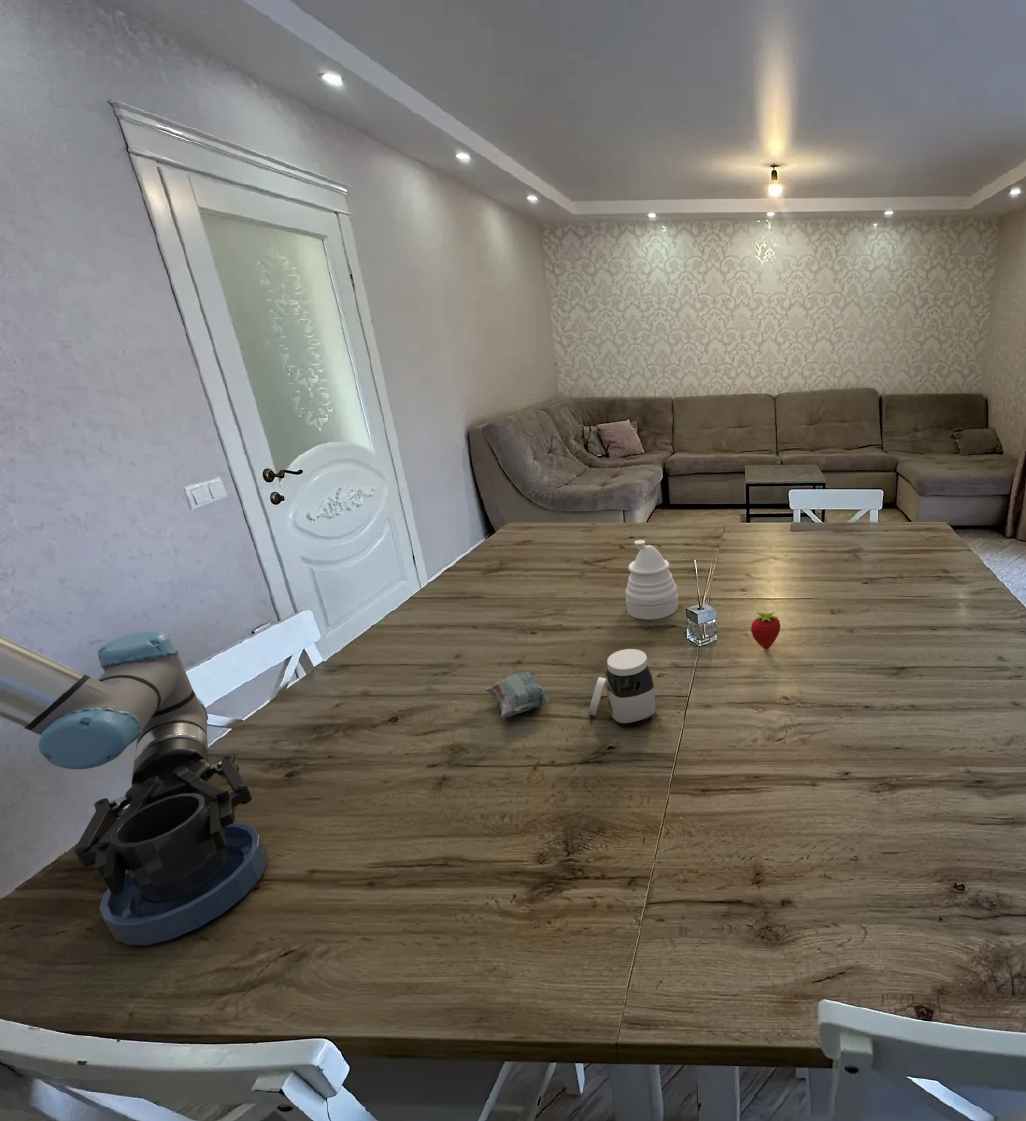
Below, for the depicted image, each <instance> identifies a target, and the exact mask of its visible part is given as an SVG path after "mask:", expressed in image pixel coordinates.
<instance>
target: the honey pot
mask: <svg viewBox="0 0 1026 1121" xmlns="http://www.w3.org/2000/svg"><path fill="white" fill-rule="evenodd" d="M633 544H634V547H635V548H636V549H637V550H639V551H638V553H637V555H636V557H635V559H634V560H633V561H631V562H630V563H628V564H629V565H628V571H629V572H630V574H629V576H628V579H627V580H628V581H627V585H626V588H625V592H624V593H625V603H626V605H625V606H626V612H627V614H628V615H629V616H631V617H632V618H635V619H637V620H658V619H662V618H663V619H664V618H667V617H669V616H671V615H674V614H675V613H676V612H677V611H678V609H679V594H678V586H677V584H676V583H675V580H674V578H673V574H672V572H670V571H671V570H670V569H669V568H670V565H671V564H670V562H669V561H668V560H666V559H664V557H663V556H662V554H661V552H660V551H659V550H658V549H657V548H656V547H654V546H653V545H650V544H647V545H646V540H644V539H638V540H634V542H633Z"/></svg>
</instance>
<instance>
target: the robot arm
mask: <svg viewBox="0 0 1026 1121" xmlns="http://www.w3.org/2000/svg"><path fill="white" fill-rule="evenodd" d="M97 657H98V660H99V663H100V664H99V666H100V668H102V670H103V671H104V673H102V674H101V676H99V678H98V679H96V678H95V677H92V676H89V675H88V674H85V673H83V672H81V671H78V670H76V669H74V668H72V667H70V666H68V665H66V664H64V663H61V661H60V662H59V661H57V660H56V659H53V658H51V657H49V656H47V655H45V654H43V653H41V652H38V651H37V650H34V649H32V648H30V647H28V646H26V645H24V644H21V643H20V642H17V641H15V640H13V639H11V638H9V637H7V636H4V635H3V634H1V633H0V719H1V720H3V721H6V722H7V723H10V724H13V725H16V726H18V727H20V728H23V729H25V730H28V731H30V732H32V733H35V734H37V735H39V736H40V737H39V740H38V746H37V747H38V751H39V752H40V754H41V755H42V756H43V757H44V758H45V759H46V760H47V762H48V763H50V764H51V765H54V766H56V767H59V768H61V769H68V770H89V769H93V768H98V767H101V766H103V765H106V764H108V763H110V762H112V761H113V760H115V759H117V758H118V757H119V756H120V755H121V754H122V753H123V752H124V751H125V750H126V749H127V748H128V747H129V745H131V744H133V743H134V742H135V741H136V746H135V754H134V759H133V768H132V775H131V786H130V787H129V789H127V790H126V792H125V794H124V795H123V796H121V797H118V798H116V799H113V800H110V801H109V798H107V797H105V798H100V799H99V800H97V801H95V802H94V804H93V806H94V809H95V812H94V814H93V815H92V817H91V819H90V821H89V823H88V824H87V827H86V828H85V829H84V831H83V833H82V835H81V836H80V839H79V840H78V843H77V844H76V845H75V848H74V849H73V852H74V853H75V855H76V857H77V859H78V860H79V862H80V863H81V865H82V867H83V868H89V867H91V866H93V865H94V869H95V870H96V872H97V873H98V875H99V876H100V877H101V878H102V879H103V881H104V883H105V884H106V886H107V889H108V888H109V889H110V891H111V893H112V895H113V896H116V895H118V894H120V893H123V889H124V881H125V873H126V868H125V866H124V865H123V863H122V861H121V859H120V857H119V855H118V854H117V852H116V850H115V848H114V846H113V845H112V843H111V834H112V832H113V831H114V830H115V829H116V827H117V826H118V825H119V824H120V823H121V822H122V821H123V820H125V819H126V818H127V817H128V816H130V815H131V814H133V813H134V812H136V811H138V810H139V809H141V808H143V807H145V806H147V805H148V804H151V803H153V802H156V801H158V800H161V799H163V798H166V797H169V796H174V795H178V794H183V793H197V794H199V795H201V796H203V797H204V799H205V801H206V803H207V805H208V808H209V819H210V835H211V837H212V839H213V841H214V844H215V846H216V848H217V850H218V851H220V850H222V849H225V848H226V837H225V826H228V825H230V824H233V823H235V822H236V814H235V809H236V807H237V806H239V805H247V804H250V802H252V800H253V797H252V795H251V794H252V793H251V792H250V790H249V787H248V784H247V782H245V780H244V778H243V777H242V776H241V774H240V767H239V764H238V762H237V759H236V757H235V755H234V753H229V754H226V755H224V756H223V757H222V759H221V761H219V762H216V763H213V764H212V763H210V761H209V742H208V720H209V714H208V712H207V709H206V707H205V704H204V703H203V700H201V699H200V698H199V697H197V695H196V692H195V691H194V689H193V687H192V684H191V682H190V679H189V677H188V674H187V671H186V669H185V666H184V664H183V662H182V659H181V657H180V652H179V650H178V649H177V648H176V646H175V645H174V642H173V641H172V639H171V637H170V635H169V634H167V633H166V632H163V631H161V630H160V631H159V630H147V631H146V630H145V631H139V632H134V633H130V634H127V635H123V636H119V637H117V638H115V639H112V640H110V641H108V642H106V643H104V644H103V645H102V646H101V647H100V648H99V649H98V652H97ZM215 774H216V775H217V776H219V777H221V778H222V779H225V780H226V782H227V784H228V786H229V788H230V789H231V792H229V791H228V788H225V789H221V788H220V787H217V786H216V785H214V784H212V783H210V782H208V781H209V780H211V778H212V777H213V776H214V775H215ZM127 806H128V808H126V807H127ZM125 808H126V810H125V811H124V809H125ZM123 811H124V812H123ZM122 812H123V813H122Z"/></svg>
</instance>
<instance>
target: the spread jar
mask: <svg viewBox="0 0 1026 1121" xmlns="http://www.w3.org/2000/svg"><path fill="white" fill-rule="evenodd" d="M606 664H607V668H606V669H605V674H604V677H601V676H599V677H598V678H597V681H596V684H595V687H594V689H593V690H594V691H593V694H592V697H591V701H590V704H589V707H588V712H587V715H590V716H594V717H596V715H597V712H598V709H599V706H600V702H601V699H602V696H603V692H604V688H606V690H605V691H606V698H607V704H608V705H607V706H608V709H609V710H608V711H609V713H610V716H611V719H612V720H613V721H614V722H615V723H616V724H617V725H620V726H626V727H632V726H637V725H640V724H643V723H644V722H647V721H648V720H649V719H650V718H652V717H653V716H654V715H655V713H656V696H655V694H656V693H655V684H654V680H653V675H652V672H651V669H650V667H649V666H648V657H647V654H646V653H645V652H644V651H643V650H640V649H635V648H626V649H621V650H618V651H614V652H613V653H612V654H610V655H609V656H608V657H607V659H606Z"/></svg>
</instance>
